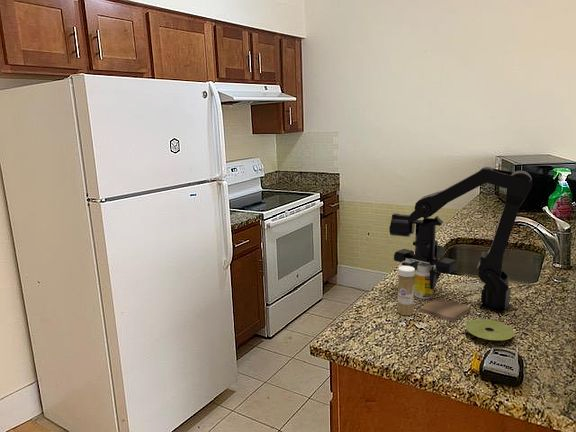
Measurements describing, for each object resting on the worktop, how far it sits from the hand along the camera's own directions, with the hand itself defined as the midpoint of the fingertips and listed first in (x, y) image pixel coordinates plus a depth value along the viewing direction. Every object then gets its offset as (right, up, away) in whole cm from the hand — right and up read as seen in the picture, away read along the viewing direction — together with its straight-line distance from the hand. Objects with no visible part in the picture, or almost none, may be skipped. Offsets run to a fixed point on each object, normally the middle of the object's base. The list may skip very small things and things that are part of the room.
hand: (423, 286), depth 133 cm
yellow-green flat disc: (+9, -8, -25) cm, 27 cm away
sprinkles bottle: (-8, -6, -10) cm, 14 cm away
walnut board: (+3, -5, -10) cm, 12 cm away
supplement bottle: (0, -3, +1) cm, 3 cm away
